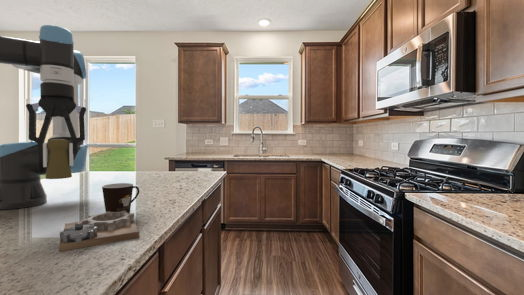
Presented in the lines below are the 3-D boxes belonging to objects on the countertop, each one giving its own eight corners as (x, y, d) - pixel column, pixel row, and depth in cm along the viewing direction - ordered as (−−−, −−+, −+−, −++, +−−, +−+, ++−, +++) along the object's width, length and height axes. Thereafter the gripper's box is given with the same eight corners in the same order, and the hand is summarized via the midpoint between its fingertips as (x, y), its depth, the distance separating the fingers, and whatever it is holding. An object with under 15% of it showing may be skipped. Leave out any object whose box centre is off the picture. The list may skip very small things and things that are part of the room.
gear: (61, 235, 64) (61, 222, 64) (96, 230, 68) (96, 217, 68) (58, 245, 58) (58, 231, 58) (97, 239, 62) (97, 225, 61)
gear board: (65, 228, 73) (65, 216, 72) (130, 219, 81) (130, 208, 81) (59, 251, 58) (59, 235, 58) (139, 237, 67) (139, 223, 67)
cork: (57, 179, 72) (56, 138, 72) (39, 178, 74) (38, 138, 73) (77, 176, 78) (76, 139, 78) (60, 175, 79) (59, 138, 79)
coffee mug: (105, 223, 78) (105, 189, 78) (99, 216, 84) (99, 185, 84) (146, 215, 86) (146, 184, 85) (138, 210, 92) (138, 181, 92)
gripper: (10, 76, 67) (12, 169, 68) (95, 85, 77) (96, 165, 77) (17, 82, 73) (19, 166, 74) (95, 89, 83) (96, 163, 84)
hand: (58, 165), depth 76 cm, fingers closed on cork, 5 cm apart
